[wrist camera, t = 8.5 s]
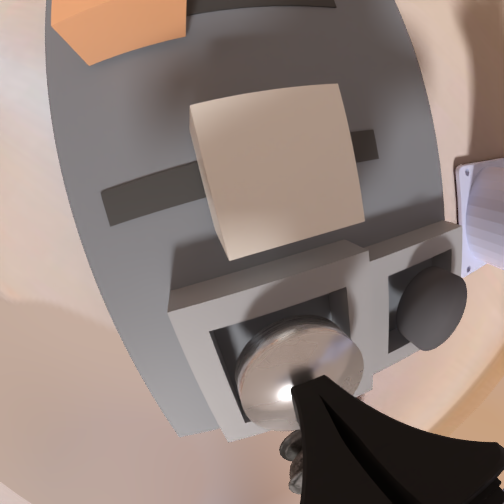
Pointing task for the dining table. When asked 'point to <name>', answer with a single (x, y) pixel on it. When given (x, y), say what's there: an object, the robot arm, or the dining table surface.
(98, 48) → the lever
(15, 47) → the dining table surface
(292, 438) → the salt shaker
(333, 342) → the button silver
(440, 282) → the button black
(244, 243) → the lever middle
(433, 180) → the panel
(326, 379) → the robot arm
